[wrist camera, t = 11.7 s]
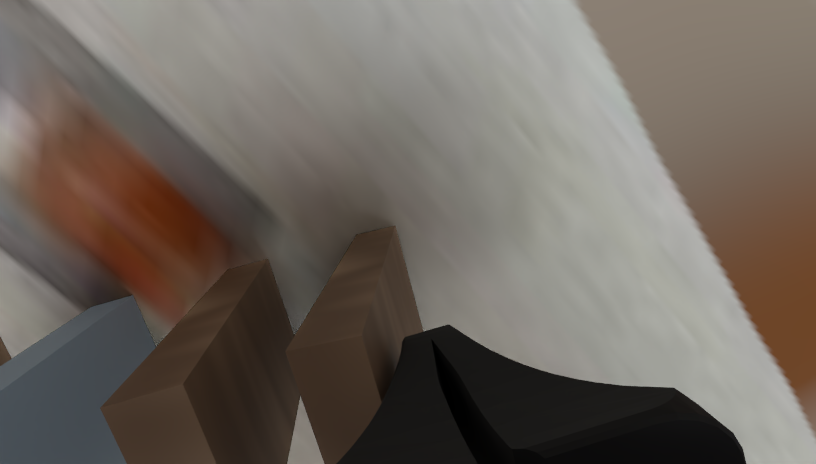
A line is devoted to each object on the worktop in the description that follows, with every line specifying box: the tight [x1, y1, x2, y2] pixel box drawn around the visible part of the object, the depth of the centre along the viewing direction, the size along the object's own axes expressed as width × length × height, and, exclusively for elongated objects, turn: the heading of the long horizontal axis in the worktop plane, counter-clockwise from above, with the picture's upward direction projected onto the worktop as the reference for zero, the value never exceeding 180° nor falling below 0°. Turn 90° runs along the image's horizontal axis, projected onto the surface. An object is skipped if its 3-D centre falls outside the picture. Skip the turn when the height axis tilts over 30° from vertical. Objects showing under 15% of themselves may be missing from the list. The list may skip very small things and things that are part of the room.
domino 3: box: [285, 226, 423, 464], centre depth 14 cm, size 2×5×9 cm, turn 14°
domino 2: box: [100, 259, 300, 464], centre depth 13 cm, size 2×5×9 cm, turn 14°
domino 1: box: [0, 295, 156, 464], centre depth 13 cm, size 2×5×9 cm, turn 14°
